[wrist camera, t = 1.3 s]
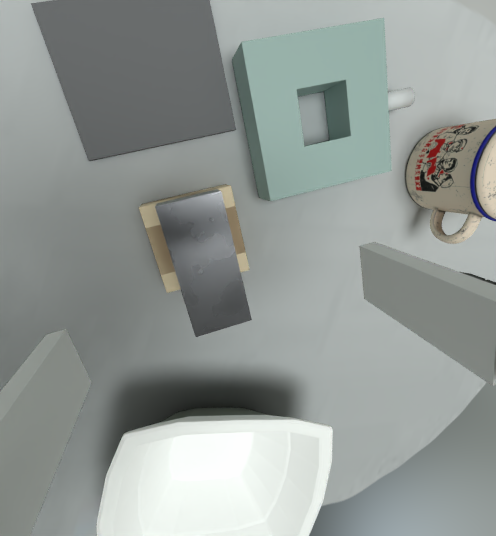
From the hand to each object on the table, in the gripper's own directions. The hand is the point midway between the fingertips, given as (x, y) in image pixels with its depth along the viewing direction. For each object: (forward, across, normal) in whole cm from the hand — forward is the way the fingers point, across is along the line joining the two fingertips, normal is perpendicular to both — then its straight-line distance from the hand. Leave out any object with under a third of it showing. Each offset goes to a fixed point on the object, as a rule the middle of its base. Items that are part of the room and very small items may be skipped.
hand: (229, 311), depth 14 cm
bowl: (+18, -6, -26) cm, 32 cm away
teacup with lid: (+19, +26, -1) cm, 32 cm away
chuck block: (+18, +14, +8) cm, 25 cm away
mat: (+18, -1, +14) cm, 23 cm away
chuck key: (+18, 0, 0) cm, 18 cm away
